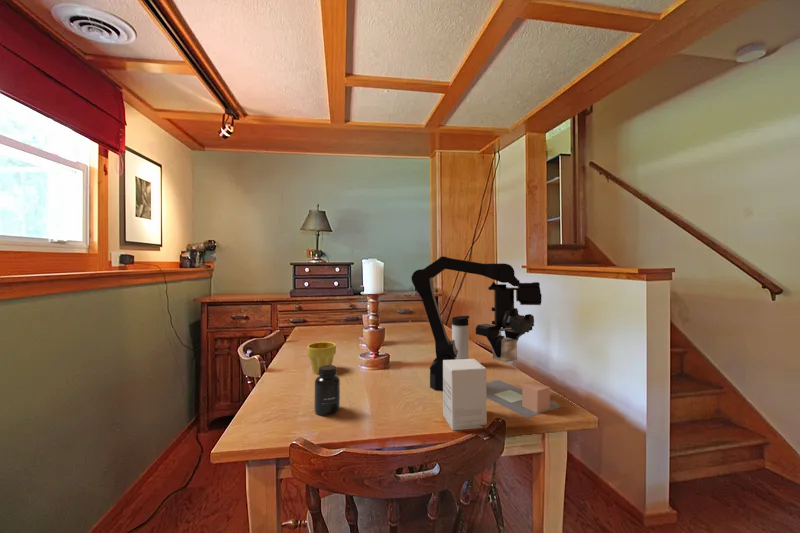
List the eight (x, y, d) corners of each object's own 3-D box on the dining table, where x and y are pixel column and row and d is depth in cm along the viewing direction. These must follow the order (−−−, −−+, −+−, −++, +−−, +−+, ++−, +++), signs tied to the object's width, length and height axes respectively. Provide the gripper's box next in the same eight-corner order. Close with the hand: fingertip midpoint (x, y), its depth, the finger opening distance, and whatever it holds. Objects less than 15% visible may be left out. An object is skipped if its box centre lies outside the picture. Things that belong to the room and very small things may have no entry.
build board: (526, 421, 87) (526, 417, 87) (466, 390, 108) (466, 386, 108) (562, 410, 94) (562, 406, 94) (498, 382, 115) (498, 379, 115)
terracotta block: (537, 413, 89) (537, 390, 89) (522, 406, 94) (522, 384, 94) (549, 409, 92) (550, 387, 92) (534, 402, 96) (534, 381, 96)
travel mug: (470, 370, 128) (470, 317, 127) (453, 370, 128) (453, 317, 127) (467, 365, 134) (467, 314, 134) (450, 365, 134) (451, 314, 134)
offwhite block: (505, 362, 100) (505, 342, 100) (492, 358, 104) (492, 338, 104) (517, 359, 102) (516, 339, 102) (504, 355, 107) (504, 336, 107)
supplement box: (474, 412, 92) (474, 357, 92) (487, 428, 83) (487, 368, 83) (442, 414, 91) (442, 359, 91) (451, 431, 82) (451, 369, 82)
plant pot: (332, 375, 122) (332, 348, 122) (304, 375, 122) (304, 348, 122) (338, 366, 132) (338, 341, 132) (311, 366, 132) (311, 341, 132)
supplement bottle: (327, 418, 89) (327, 372, 89) (309, 412, 92) (308, 368, 92) (345, 408, 95) (344, 365, 94) (327, 403, 98) (326, 362, 98)
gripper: (502, 310, 91) (503, 368, 92) (547, 305, 101) (547, 357, 101) (474, 306, 101) (474, 358, 101) (517, 301, 110) (517, 349, 111)
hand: (504, 355), depth 103 cm, fingers closed on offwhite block, 5 cm apart
